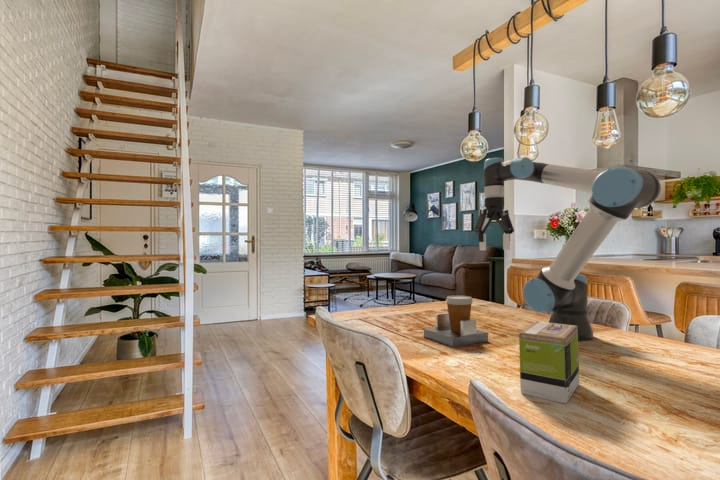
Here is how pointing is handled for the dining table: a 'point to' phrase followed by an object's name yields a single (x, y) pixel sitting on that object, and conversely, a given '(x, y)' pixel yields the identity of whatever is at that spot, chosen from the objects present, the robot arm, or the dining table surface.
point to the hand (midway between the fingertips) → (494, 250)
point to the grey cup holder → (453, 338)
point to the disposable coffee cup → (458, 310)
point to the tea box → (549, 361)
